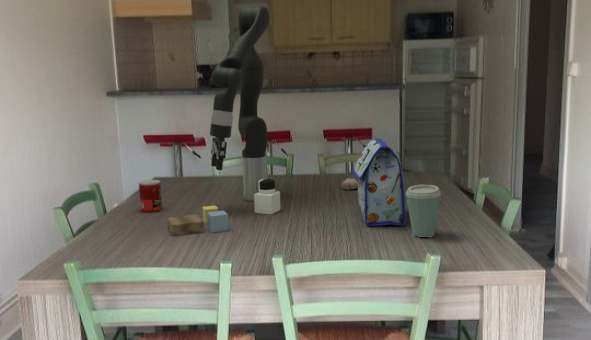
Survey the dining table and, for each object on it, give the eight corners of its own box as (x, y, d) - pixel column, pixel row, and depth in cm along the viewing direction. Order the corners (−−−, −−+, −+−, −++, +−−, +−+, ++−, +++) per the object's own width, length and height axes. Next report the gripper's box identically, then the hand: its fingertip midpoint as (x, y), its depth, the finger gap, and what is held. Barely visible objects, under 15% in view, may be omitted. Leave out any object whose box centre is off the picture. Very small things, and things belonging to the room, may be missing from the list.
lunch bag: (351, 210, 205) (351, 137, 201) (397, 209, 205) (398, 136, 200) (358, 228, 183) (357, 146, 178) (409, 227, 183) (410, 145, 178)
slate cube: (224, 226, 189) (223, 210, 188) (228, 230, 184) (227, 214, 183) (208, 228, 187) (207, 212, 186) (211, 232, 182) (210, 216, 181)
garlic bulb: (362, 188, 243) (362, 170, 241) (354, 191, 237) (354, 173, 235) (346, 186, 247) (346, 168, 245) (338, 190, 241) (338, 171, 239)
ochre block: (215, 219, 199) (215, 205, 198) (218, 222, 194) (218, 208, 194) (203, 220, 197) (202, 206, 196) (205, 223, 193) (205, 209, 192)
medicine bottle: (280, 210, 209) (279, 178, 207) (271, 214, 202) (270, 182, 200) (263, 208, 212) (262, 177, 210) (254, 213, 205) (253, 180, 203)
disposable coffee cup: (433, 242, 166) (434, 192, 164) (399, 237, 172) (399, 189, 169) (445, 233, 175) (446, 185, 173) (411, 228, 181) (412, 182, 178)
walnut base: (197, 224, 192) (197, 214, 192) (203, 232, 183) (203, 221, 182) (167, 227, 189) (167, 217, 188) (172, 235, 179) (171, 225, 179)
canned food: (157, 212, 209) (155, 183, 207) (137, 212, 211) (134, 183, 209) (165, 207, 217) (163, 179, 215) (146, 207, 218) (144, 179, 216)
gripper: (236, 126, 197) (230, 172, 199) (227, 123, 211) (222, 166, 213) (214, 124, 195) (209, 170, 197) (207, 121, 208) (202, 164, 210)
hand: (216, 168), depth 205 cm, fingers open, 8 cm apart
